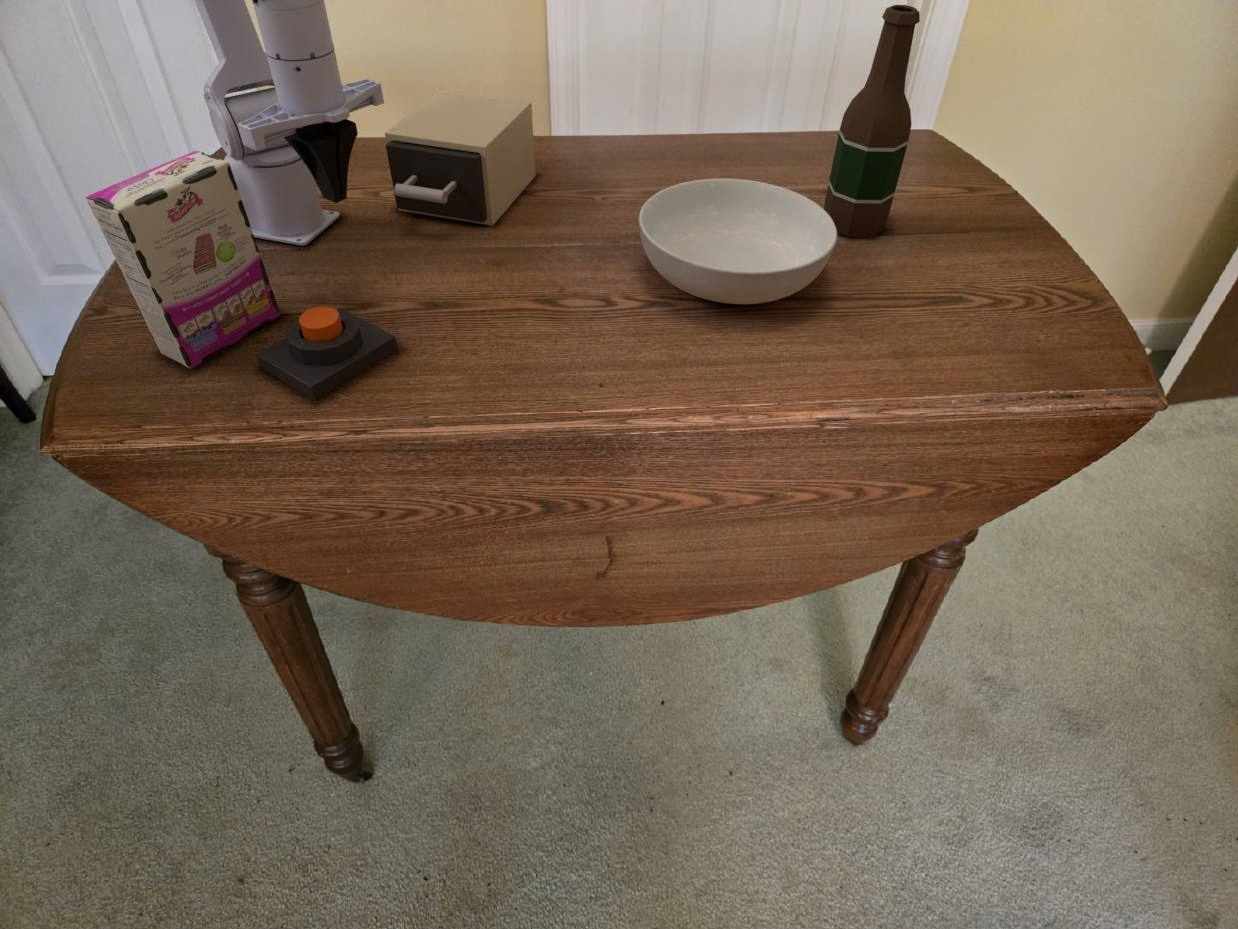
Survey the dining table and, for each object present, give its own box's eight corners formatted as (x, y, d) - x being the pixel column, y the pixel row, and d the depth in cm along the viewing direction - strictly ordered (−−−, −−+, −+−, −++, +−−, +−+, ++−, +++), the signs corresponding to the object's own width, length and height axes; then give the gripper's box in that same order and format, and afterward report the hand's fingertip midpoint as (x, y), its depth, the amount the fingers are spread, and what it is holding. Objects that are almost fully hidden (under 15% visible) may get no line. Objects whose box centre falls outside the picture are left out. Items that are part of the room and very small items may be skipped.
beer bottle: (814, 231, 99) (858, 13, 82) (827, 204, 104) (871, -7, 87) (879, 244, 97) (938, 23, 80) (889, 216, 102) (946, 2, 85)
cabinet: (492, 225, 99) (485, 147, 92) (398, 210, 101) (384, 132, 94) (535, 175, 109) (531, 101, 102) (449, 162, 111) (439, 89, 105)
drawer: (468, 239, 94) (461, 173, 89) (380, 224, 97) (367, 159, 91) (524, 175, 107) (520, 115, 101) (444, 163, 109) (436, 103, 103)
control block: (315, 401, 74) (306, 370, 72) (261, 368, 78) (250, 338, 75) (398, 350, 80) (392, 320, 78) (344, 321, 83) (336, 292, 81)
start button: (320, 348, 75) (315, 332, 74) (295, 334, 76) (290, 318, 75) (351, 330, 77) (347, 315, 76) (326, 317, 78) (322, 302, 77)
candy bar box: (249, 302, 86) (196, 147, 74) (282, 316, 84) (233, 160, 73) (156, 355, 79) (81, 193, 67) (189, 372, 77) (118, 208, 66)
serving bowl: (779, 354, 81) (790, 293, 76) (601, 291, 88) (601, 233, 84) (852, 263, 94) (866, 207, 89) (691, 215, 101) (696, 161, 97)
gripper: (257, 83, 65) (300, 238, 75) (394, 39, 74) (417, 183, 83) (205, 64, 68) (253, 215, 78) (343, 24, 77) (371, 164, 86)
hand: (335, 197), depth 81 cm, fingers closed
